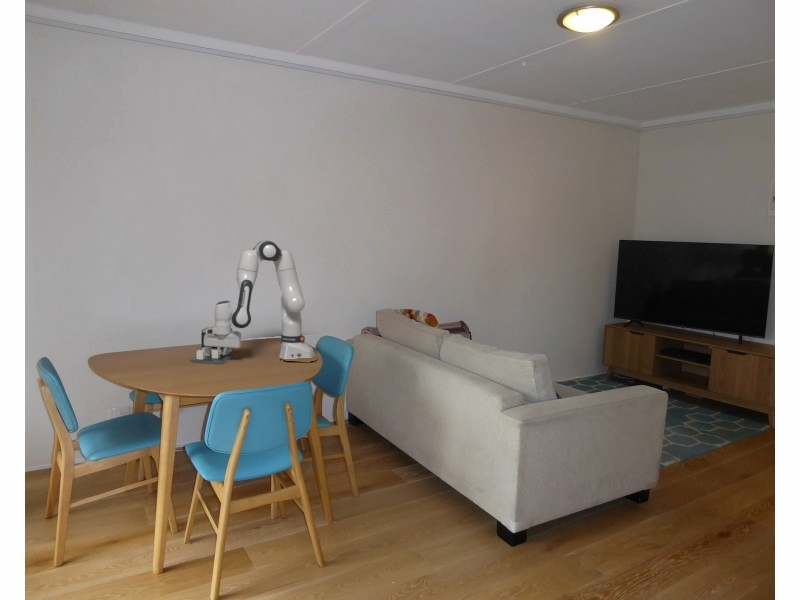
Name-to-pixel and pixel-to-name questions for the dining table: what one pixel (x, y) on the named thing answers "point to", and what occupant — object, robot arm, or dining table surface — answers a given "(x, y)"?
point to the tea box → (211, 346)
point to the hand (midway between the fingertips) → (222, 354)
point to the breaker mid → (215, 353)
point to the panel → (211, 360)
